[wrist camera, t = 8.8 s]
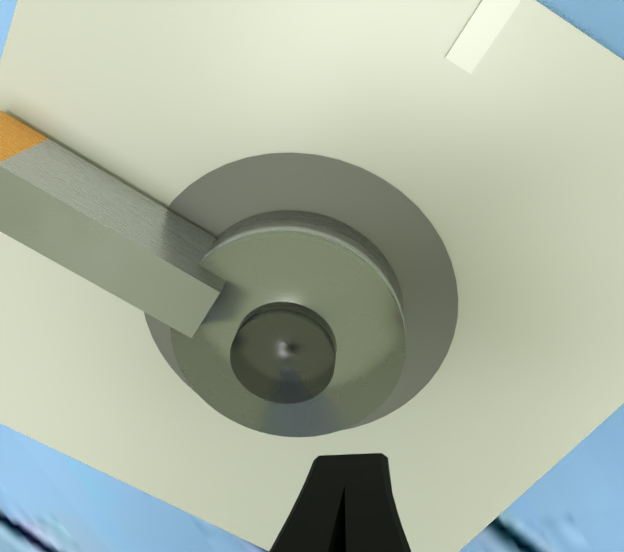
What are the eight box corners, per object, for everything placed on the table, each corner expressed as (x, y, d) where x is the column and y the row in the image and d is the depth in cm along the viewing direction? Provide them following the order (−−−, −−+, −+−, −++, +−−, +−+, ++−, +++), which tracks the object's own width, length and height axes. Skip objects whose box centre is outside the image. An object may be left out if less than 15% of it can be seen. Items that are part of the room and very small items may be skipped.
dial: (449, 287, 18) (459, 337, 16) (328, 428, 21) (321, 488, 19) (30, 27, 16) (-35, 36, 13) (-37, 226, 19) (-100, 264, 16)
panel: (392, 579, 27) (393, 615, 25) (-64, 357, 24) (-94, 383, 22) (805, 190, 17) (845, 210, 16) (127, -270, 14) (97, -299, 13)
